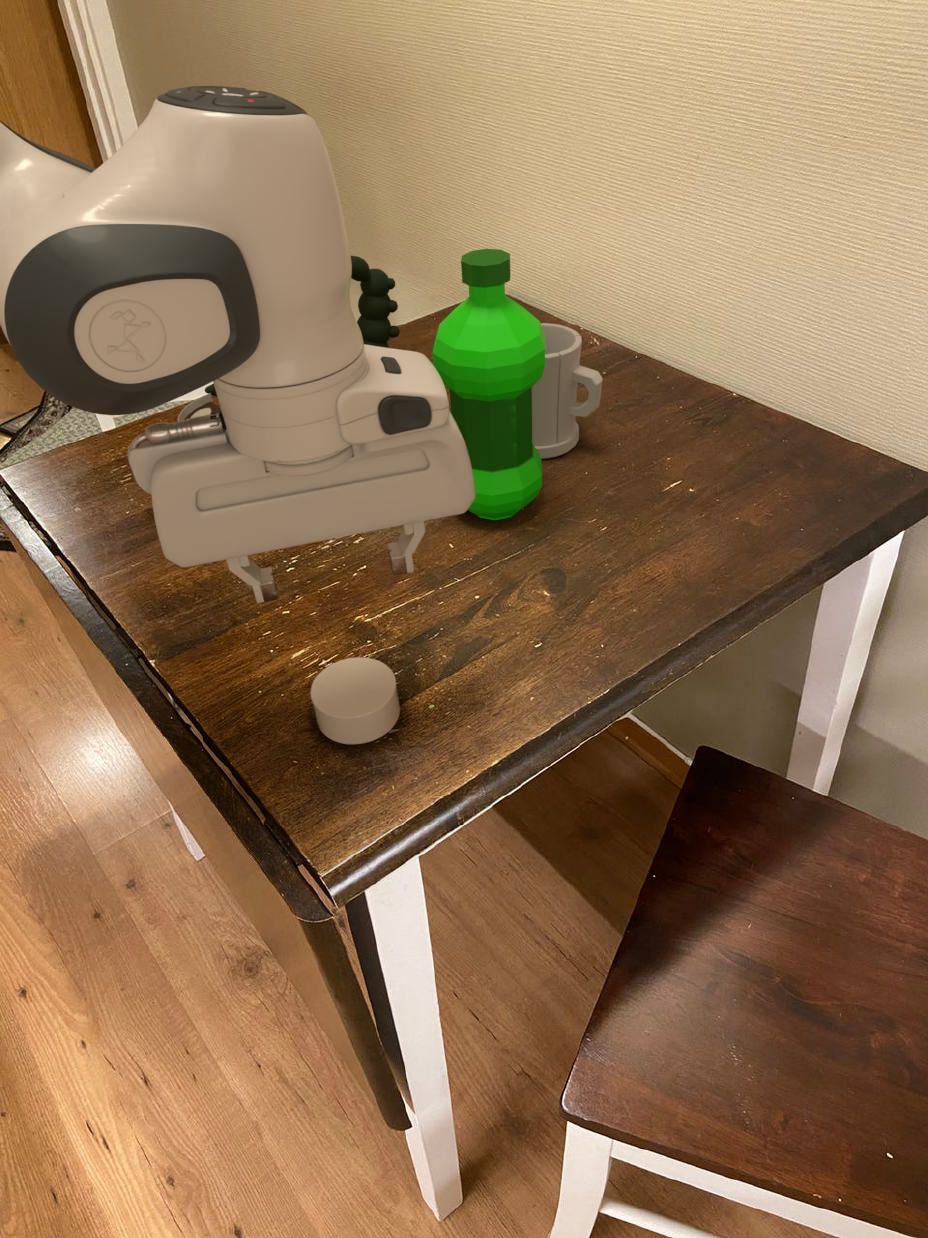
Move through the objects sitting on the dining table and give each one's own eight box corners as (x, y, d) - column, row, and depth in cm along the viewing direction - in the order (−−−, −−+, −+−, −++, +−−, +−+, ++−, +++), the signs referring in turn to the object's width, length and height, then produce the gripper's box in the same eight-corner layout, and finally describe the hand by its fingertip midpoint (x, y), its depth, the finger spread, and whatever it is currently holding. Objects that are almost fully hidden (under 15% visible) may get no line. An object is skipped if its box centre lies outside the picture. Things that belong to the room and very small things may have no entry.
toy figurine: (372, 391, 116) (198, 445, 103) (363, 239, 105) (166, 278, 92) (416, 414, 110) (237, 474, 97) (411, 256, 99) (208, 301, 86)
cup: (583, 416, 104) (586, 316, 96) (602, 455, 97) (607, 351, 89) (495, 426, 103) (491, 327, 96) (508, 466, 96) (504, 362, 89)
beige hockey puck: (321, 753, 67) (315, 726, 65) (312, 693, 72) (306, 666, 70) (407, 734, 68) (403, 707, 66) (392, 676, 73) (388, 649, 71)
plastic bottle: (435, 490, 94) (412, 247, 77) (530, 472, 95) (527, 231, 79) (458, 542, 86) (438, 286, 70) (560, 522, 88) (564, 267, 72)
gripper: (113, 457, 48) (183, 643, 57) (474, 393, 51) (487, 580, 60) (120, 406, 53) (184, 585, 62) (450, 350, 56) (465, 530, 65)
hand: (335, 582), depth 61 cm, fingers open, 8 cm apart
